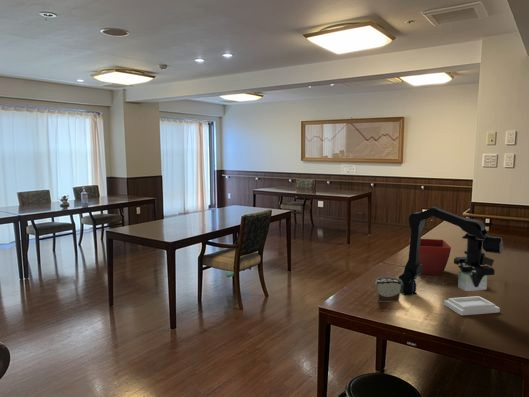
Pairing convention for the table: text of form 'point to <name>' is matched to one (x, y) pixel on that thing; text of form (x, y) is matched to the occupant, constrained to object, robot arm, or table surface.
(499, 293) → the table surface
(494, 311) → the white rectangular tray
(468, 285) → the block
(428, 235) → the table surface
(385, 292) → the food container
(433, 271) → the plant pot
